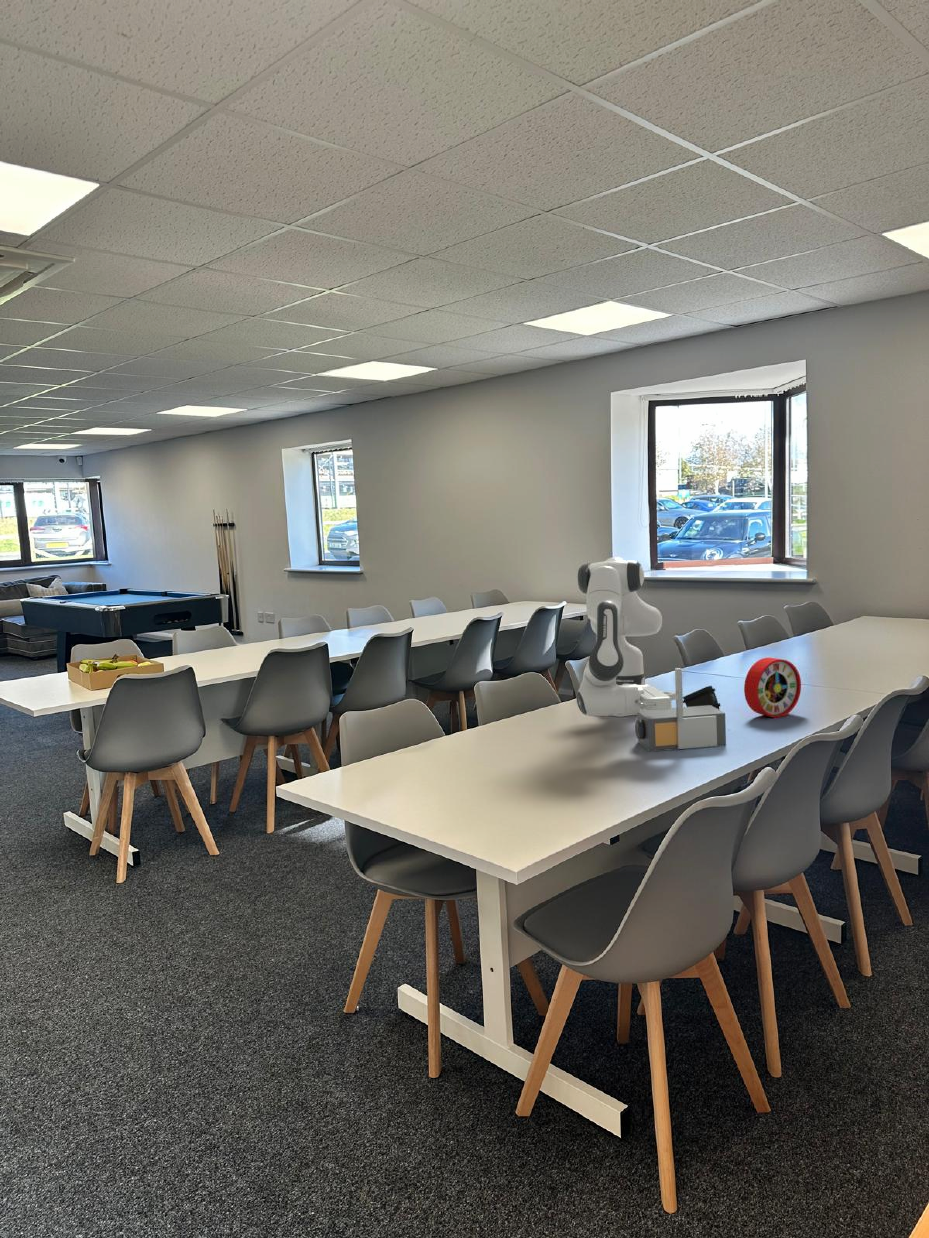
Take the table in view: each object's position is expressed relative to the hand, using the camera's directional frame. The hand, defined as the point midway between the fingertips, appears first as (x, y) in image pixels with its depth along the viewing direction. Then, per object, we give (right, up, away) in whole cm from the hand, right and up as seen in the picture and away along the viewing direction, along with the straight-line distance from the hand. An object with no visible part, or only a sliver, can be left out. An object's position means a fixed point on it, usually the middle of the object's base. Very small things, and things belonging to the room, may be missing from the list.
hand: (676, 695), depth 255 cm
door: (+7, -16, +2) cm, 17 cm away
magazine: (+15, -14, +24) cm, 31 cm away
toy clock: (+43, -11, +37) cm, 58 cm away
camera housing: (+4, -16, +9) cm, 18 cm away
